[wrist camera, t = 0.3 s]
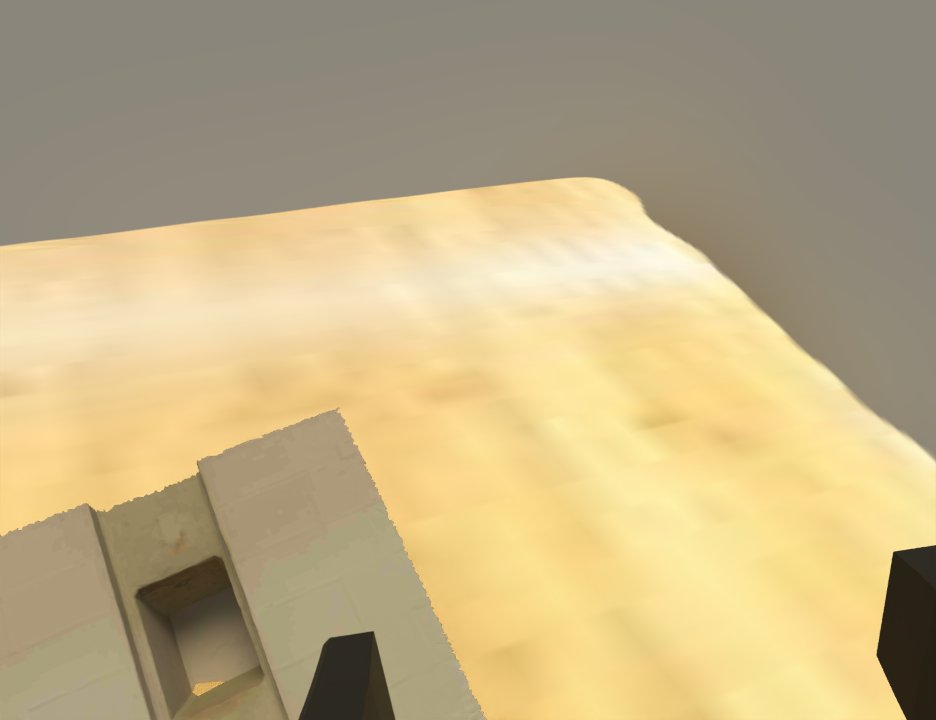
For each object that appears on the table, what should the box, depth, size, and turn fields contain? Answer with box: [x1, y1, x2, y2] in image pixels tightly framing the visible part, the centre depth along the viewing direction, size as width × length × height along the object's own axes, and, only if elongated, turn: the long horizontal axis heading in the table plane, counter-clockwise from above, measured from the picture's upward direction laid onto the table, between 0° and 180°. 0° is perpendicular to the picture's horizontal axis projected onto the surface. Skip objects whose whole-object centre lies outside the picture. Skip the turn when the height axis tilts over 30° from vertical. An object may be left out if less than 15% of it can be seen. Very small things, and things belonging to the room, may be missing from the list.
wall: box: [0, 407, 487, 720], centre depth 34 cm, size 16×9×15 cm
